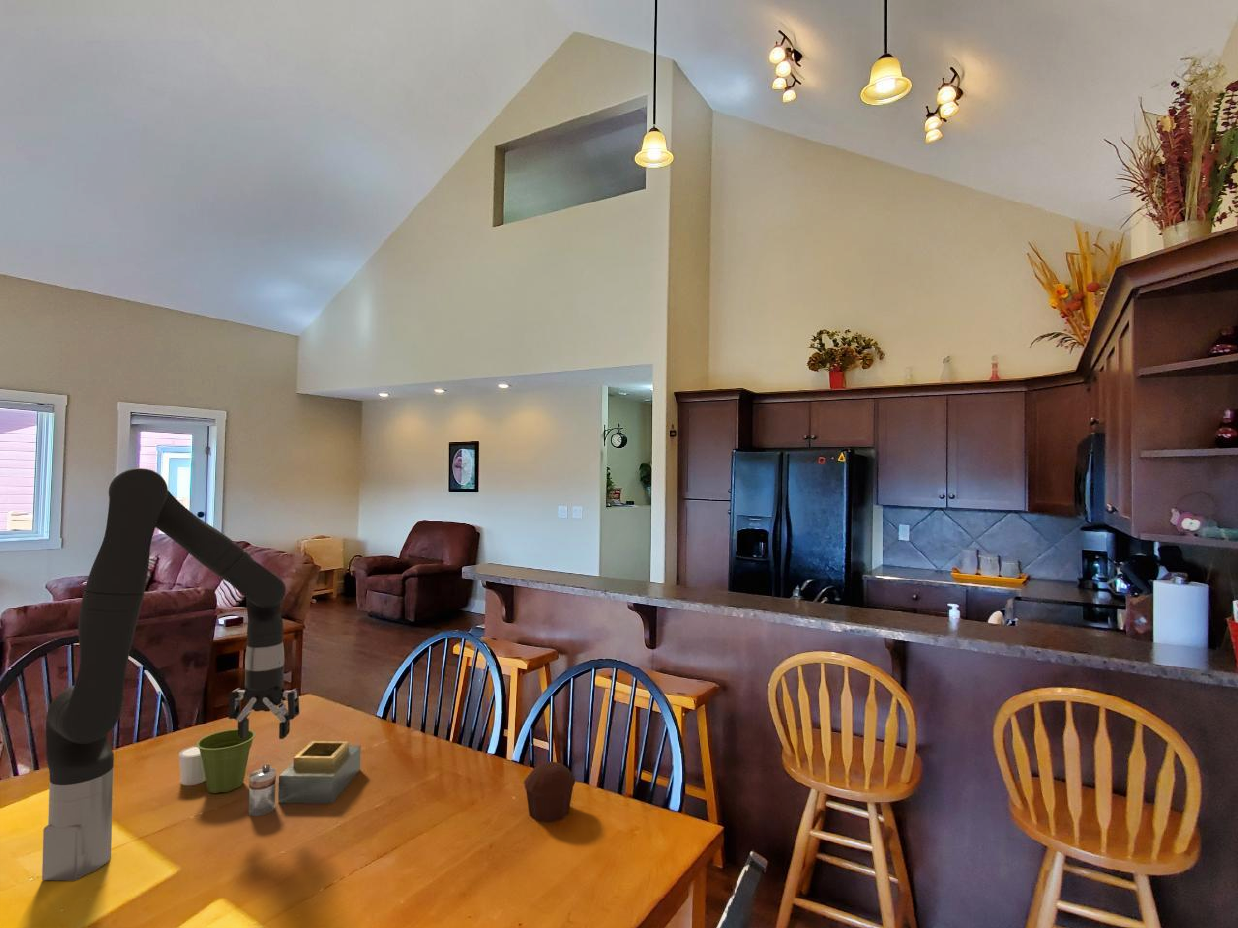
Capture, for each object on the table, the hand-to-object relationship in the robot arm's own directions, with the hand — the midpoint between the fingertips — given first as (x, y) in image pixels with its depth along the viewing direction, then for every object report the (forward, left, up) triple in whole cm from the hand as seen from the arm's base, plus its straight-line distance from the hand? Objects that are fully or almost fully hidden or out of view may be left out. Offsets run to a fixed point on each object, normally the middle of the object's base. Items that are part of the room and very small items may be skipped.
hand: (263, 737), depth 139 cm
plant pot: (+10, +14, -16) cm, 23 cm away
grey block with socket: (+11, -8, -16) cm, 21 cm away
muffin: (+1, -63, -16) cm, 65 cm away
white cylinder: (+13, +23, -16) cm, 31 cm away
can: (0, 0, -16) cm, 16 cm away
